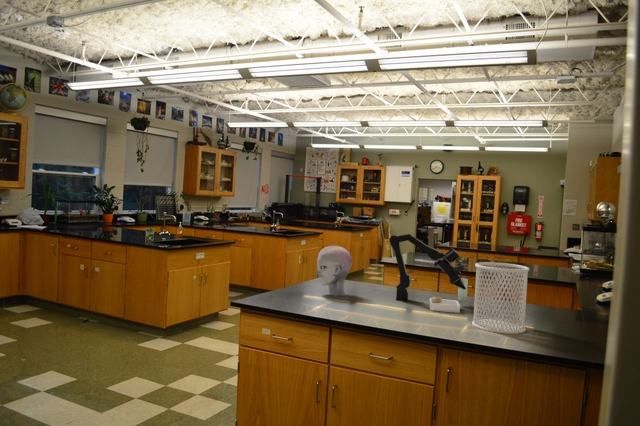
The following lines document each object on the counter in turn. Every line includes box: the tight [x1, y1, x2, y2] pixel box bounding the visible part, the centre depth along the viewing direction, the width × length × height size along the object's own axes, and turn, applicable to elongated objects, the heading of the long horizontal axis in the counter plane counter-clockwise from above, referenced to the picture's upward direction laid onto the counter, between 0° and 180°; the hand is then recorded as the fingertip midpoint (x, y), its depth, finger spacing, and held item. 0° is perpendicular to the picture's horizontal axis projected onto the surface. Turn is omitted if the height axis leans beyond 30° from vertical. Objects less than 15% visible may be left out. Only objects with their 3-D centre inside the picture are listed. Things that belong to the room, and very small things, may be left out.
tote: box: [429, 297, 461, 314], centre depth 262 cm, size 16×14×4 cm
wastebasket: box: [471, 261, 530, 335], centre depth 228 cm, size 25×25×30 cm
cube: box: [432, 296, 443, 304], centre depth 262 cm, size 5×5×5 cm
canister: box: [457, 277, 469, 302], centre depth 270 cm, size 5×5×12 cm
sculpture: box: [316, 245, 353, 296], centre depth 288 cm, size 22×20×30 cm
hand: (465, 288), depth 269 cm, fingers closed on canister, 5 cm apart
